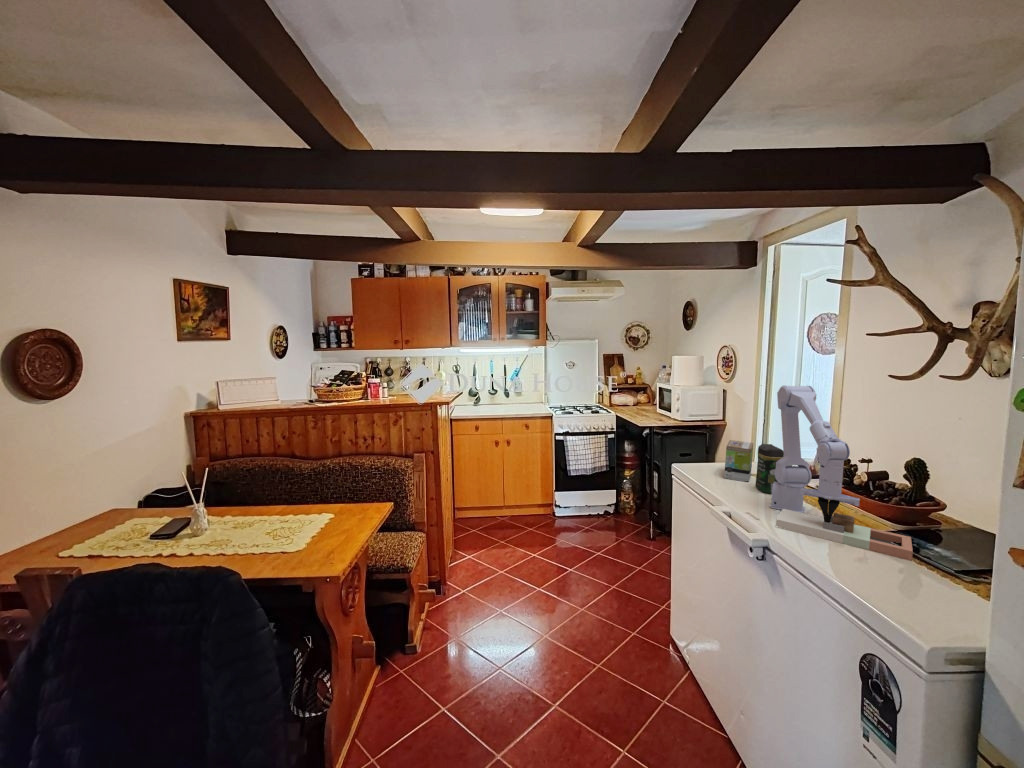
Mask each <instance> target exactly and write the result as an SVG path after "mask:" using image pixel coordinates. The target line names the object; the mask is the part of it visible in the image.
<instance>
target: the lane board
mask: <svg viewBox="0 0 1024 768" xmlns="http://www.w3.org/2000/svg"><path fill="white" fill-rule="evenodd" d="M775 521H776V522H775V527H776V526H778V527H777V528H779V527H782V528H781V529H783V528H785V529H784V530H787V529H788V531H792V532H796V533H800V534H804V535H807V536H812V537H816V538H819V539H823V540H828V541H832V542H835V543H838V544H840V543H841V544H844V545H848V546H852V547H856V548H860V549H865V550H868V551H871V552H877V553H880V554H885V555H888V556H892V557H897V558H901V559H903V560H904V559H905V560H909V561H913V553H914V552H913V550H914V549H913V544H912V543H913V542H912V537H911V536H908V535H903V534H899V533H894V532H891V531H885V530H881V529H876V528H872V527H867V526H863V525H860V524H859V525H858V524H855V523H854V529H853V533H849V532H845V531H844V526H841V525H836V524H832V522H833V515H832V517H831V519H830V523H827V522H824V517H823V516H817V515H813V514H809V513H804V512H803V513H800V512H796V511H791V510H787V509H782V510H780V513H778V516H777V518H776V519H775ZM891 542H896V543H901V546H897V545H893V544H892V543H891Z"/></svg>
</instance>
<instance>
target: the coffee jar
mask: <svg viewBox="0 0 1024 768" xmlns="http://www.w3.org/2000/svg"><path fill="white" fill-rule="evenodd" d="M757 447H758V448H757V466H756V477H755V487H756V488H757V489H758V490H759V491H761V492H762V493H765V494H769V495H772V487H773V483H774V482H778V481H777V480H776V478H775V469H776V462H777V461H778V460H780V459H781V458H783V457H784V451H783V449H782V448H779V447H777V446H776V445H774V444H772V443H771V444H770V443H769V444H768V443H761V444H760V445H759V446H757Z"/></svg>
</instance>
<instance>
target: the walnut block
mask: <svg viewBox="0 0 1024 768" xmlns="http://www.w3.org/2000/svg"><path fill="white" fill-rule="evenodd" d="M832 516H833V522H832V524H836V525H841V526H844V531H845V532H849V533H853V529H854V524H855V516H851V515H847V514H843V513H838V512H834V513H833V515H832Z"/></svg>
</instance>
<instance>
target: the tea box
mask: <svg viewBox="0 0 1024 768" xmlns="http://www.w3.org/2000/svg"><path fill="white" fill-rule="evenodd" d="M753 451H754V442H748V441H742V440H740V441H739V440H733V439H729V441H728V443H727V444H726V450H725V460H724V461H725V462H724V473H723V477H724V478H723V479H727V478H728V479H727V480H732V479H734V481H739V480H741V481H740V482H745V481H748V482H749V481H750V479H751V476H752V475H751V474H752V468H753V465H752V463H753V453H754V452H753Z"/></svg>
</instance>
